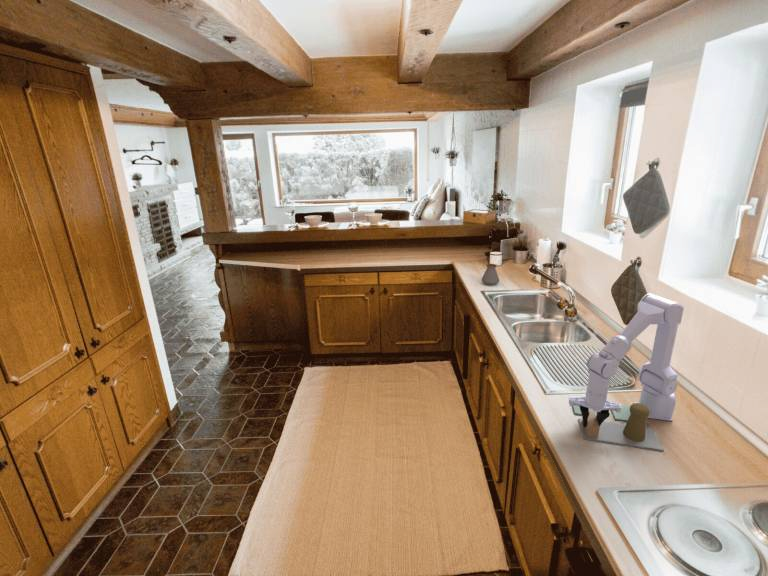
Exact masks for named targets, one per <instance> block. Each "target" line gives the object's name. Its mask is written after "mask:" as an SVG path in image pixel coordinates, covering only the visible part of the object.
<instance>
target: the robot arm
mask: <svg viewBox="0 0 768 576" xmlns="http://www.w3.org/2000/svg"><path fill="white" fill-rule="evenodd" d="M636 309H637V310H636V311H637V312H636V313H635V314H634V316H633V317H632V318H631V320H630V321H629V323H627V326H626V327H625V328H624V329H623V331H622V332H621V334H619V335H614V336H612V338H610V340H609V341H608V342H607V343H606V344H605V345H604V347H603V348H602V349H600V351H599V352H597V353H596V352H595V353H593V354H591V355H590V357H589V358H588V360H587V361H586V367H587V370H588V371H587V373H588V379H587V380H588V381H587V387H586V392H585V396H584V397H583V396H582V397H569V400H568V405H569V407H573V405H575V406H579V407H580V410H581V413H582V415H581V418H583V427H586V426H587V419H588V416H589V411H588V410H589V409H588V408H590V409H593V411H595V412H597V416H596V418H597V421H598V424H599V427H600V425H601V424H602V422H603V421H604V422H605V420H607V419H608V418H609V417H610V415H611V414H610V411H611V410H613V411H616V412H619V413H620V411H621V406H620V404H621V403H616V402H613V401H608V400H607V396H608V392H609V387H610V382H611V377H613V376H614V375H615V374H616V373H617V371H618V368H619V366H620V364H621V363H620V362H621V360H622V359H623V358H624V357H626V355H627V354H628V353H629V352H630V351H631V350H632V342H633V341H634V340H635V339H636V338H637V337H638V336H640V335H641V334H642V333H643V332H644V331H645V330H646V329H647V328H648V327H649V326H650V325H656V331H655V336H654V341H653V347H652V352H651V356H650V361H648V362H646V363H644V364H642V367H641V370H640V371H639V373H638V381H639V382H640V386H641V387H642V388H641V391H640V397H639V401H638V402H636V401H634V402H633V403H641V404H644V405H645V406H647V407H648V408H649V411H650V414H649V416H648V417H647V418H646V419H654V420H662V421H668V422H670V421H673V415H674V410H675V407H676V400H677V399H676V395H675V392H676V390H677V388H678V381H677V379H678V378H677V377H678V374H677V373H676V371H674V369H673V368H672V366H671V362H672V361H671V360H672V356H673V352H674V347H675V343H676V337H677V332H678V328H679V325H681V324H682V323H681V322H682V317H683V313H684V309H685V306H683V305H682V304H681V303H679V302H676V301H674V300H673V301H672V300H670V299H666V298H664V297H661V296H658V295H655V294H654V293H651V292H649V293H646V294H645V295H643V296H642V298H641V299H640V301H639V302H638V303H637V307H636Z"/></svg>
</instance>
